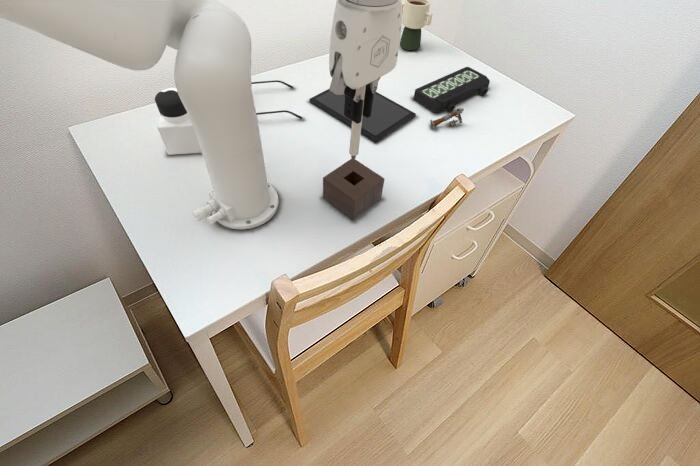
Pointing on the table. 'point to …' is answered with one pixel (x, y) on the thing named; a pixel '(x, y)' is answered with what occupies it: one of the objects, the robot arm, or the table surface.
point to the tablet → (376, 126)
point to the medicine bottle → (175, 124)
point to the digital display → (451, 90)
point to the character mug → (414, 22)
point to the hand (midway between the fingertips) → (357, 115)
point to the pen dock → (352, 188)
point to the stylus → (356, 132)
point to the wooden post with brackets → (447, 117)
